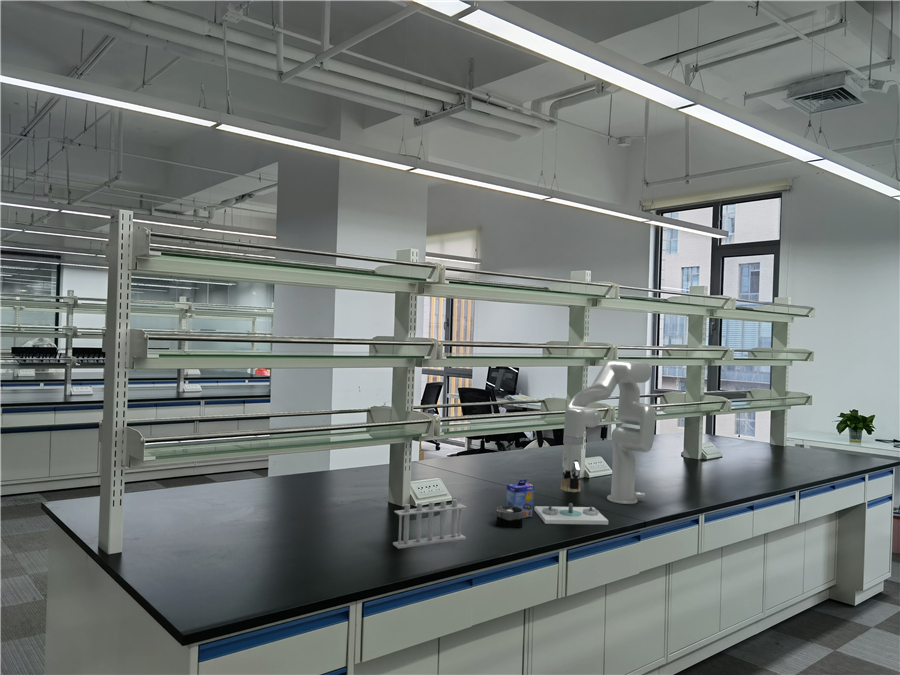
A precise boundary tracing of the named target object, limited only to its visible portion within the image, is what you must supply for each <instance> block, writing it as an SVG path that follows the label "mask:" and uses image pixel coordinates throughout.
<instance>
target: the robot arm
mask: <svg viewBox="0 0 900 675" xmlns="http://www.w3.org/2000/svg"><path fill="white" fill-rule="evenodd" d="M651 376H652V367H651V366H650V364H649V363H648V362H645V361H633V360H609V361H607V362H605V363H604V364H603V366H602V367H601V368H600V370H599V373H598V374H597V375H596V377H595V379H594V381H593V382H592V384H591V385H589V386H587V387H585V388H584V389H582V390H581V391H579V392H577V393H576V394H575V395H574V396H573V397H571V400H570V401H569V402H568V405H567V406H566V408H565V412H564V423H563V424H564V425H563V427H564V428H563V440H562V442H563V444H564V445H563V449H562V450H563V452H562V459H561V460H562V462H561V467H562V468H563V469H564V470H563V472H564V474H563V479H567V478H570V489H578V484H579V481H580V471H581V467H582V446H584V436H585V427H587V428H595V427H597V426H598V425H599V424H601V420H602V414H601V413H600V411H599V410H598V409H596V408H593V407H588V405H590V404H592V403H597V402H600V401H604V400H607V399H609V398H610V397H611V395H612V394H613V392H614V391H615V388H616V387H617V385H618V390H619V397H618V404H617V405H618V406H617V420H618V421H619V422H620V423H622V424H626V425H632V426H639V428H635V427H630V426H617V427H615V428H613V430H612V431H611V434H610V439H611V440H610V441H611V446H612V464H611V465H612V466H611V467H612V468H611V487H610V488H611V490H610V494H608V495H607V497H606V499H607V500H608V501H609V502H611V503H615V504H622V505H634V504H637V503H638V500H639V499H638V498H645V497H646V492H640V491H636V490H635V482H636V458H635V455H634V453H633V452H637V453H643V454H644V453H648V452H650V451H651V450H652V448H653V444H654V437H655V428H656V427H655V426H656V420H657V419H656V418H657V417H656V410H655V408H654V407H653V406H652V405H651V404H649V403H645V402H644V403H642V402H640V398H641V391H640V387H639V385H638V384H640V383H647V382H648V381H649V380H650V378H651ZM637 383H638V384H637Z"/></svg>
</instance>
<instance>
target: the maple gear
mask: <svg viewBox="0 0 900 675" xmlns="http://www.w3.org/2000/svg"><path fill="white" fill-rule="evenodd" d="M581 486H582V481H581V480H579V484H578V489H570V478H567V479H564V478H561V479H560V490H561V491H564V492H571V493H577V492H578V493H579V492H581V490H582V489H581Z"/></svg>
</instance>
